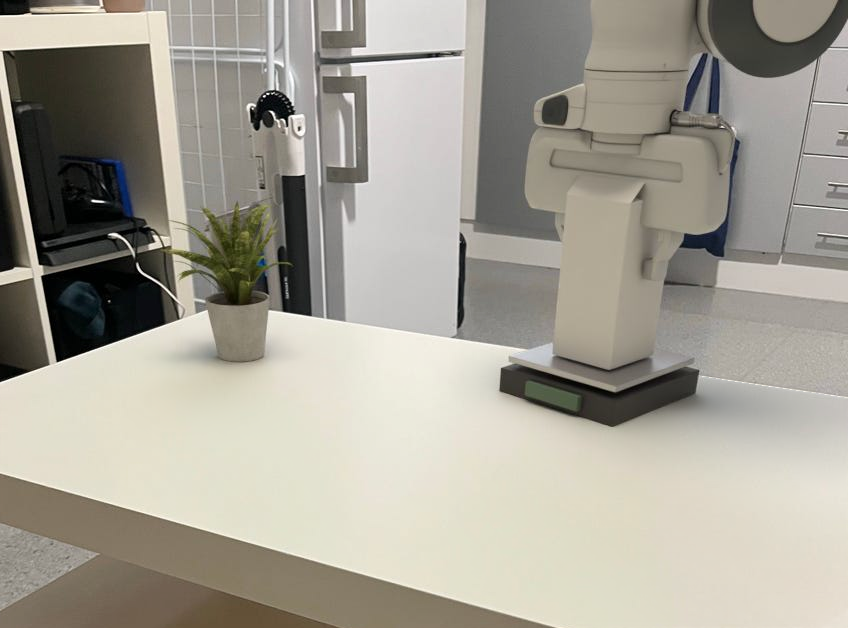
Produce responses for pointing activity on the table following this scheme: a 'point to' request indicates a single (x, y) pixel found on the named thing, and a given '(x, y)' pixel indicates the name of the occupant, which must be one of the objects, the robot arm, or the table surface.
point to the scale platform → (600, 377)
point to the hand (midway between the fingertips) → (611, 271)
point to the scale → (598, 393)
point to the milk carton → (606, 276)
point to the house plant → (235, 284)
